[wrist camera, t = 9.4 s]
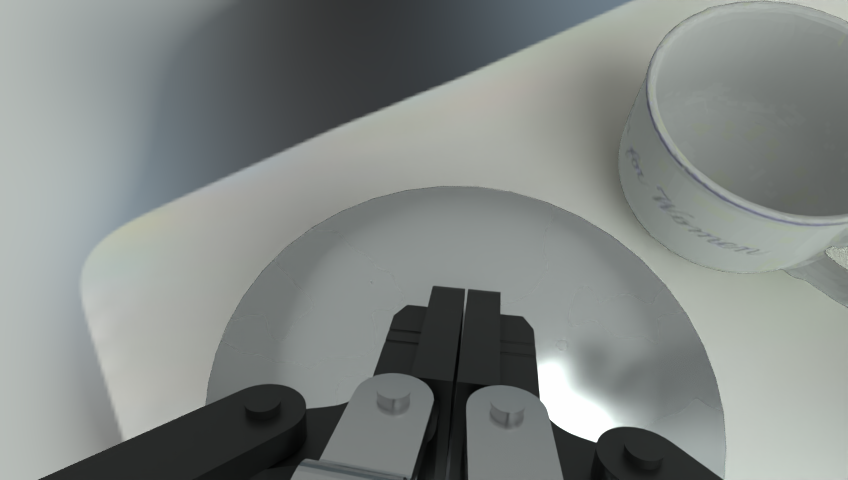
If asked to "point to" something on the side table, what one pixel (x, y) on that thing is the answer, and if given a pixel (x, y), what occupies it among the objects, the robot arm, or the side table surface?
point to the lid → (469, 269)
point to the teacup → (746, 142)
